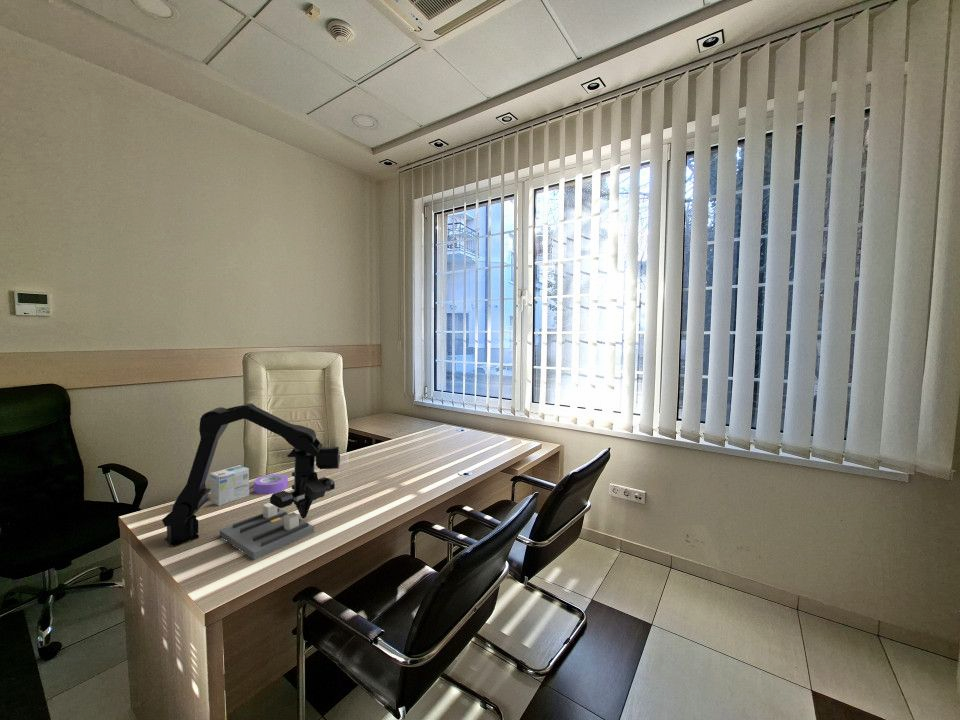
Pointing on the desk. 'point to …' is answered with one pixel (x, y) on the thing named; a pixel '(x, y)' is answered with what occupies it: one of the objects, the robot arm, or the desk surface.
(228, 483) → the light bulb box
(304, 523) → the switch board
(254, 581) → the desk surface
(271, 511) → the tab
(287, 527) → the tab
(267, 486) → the masking tape
